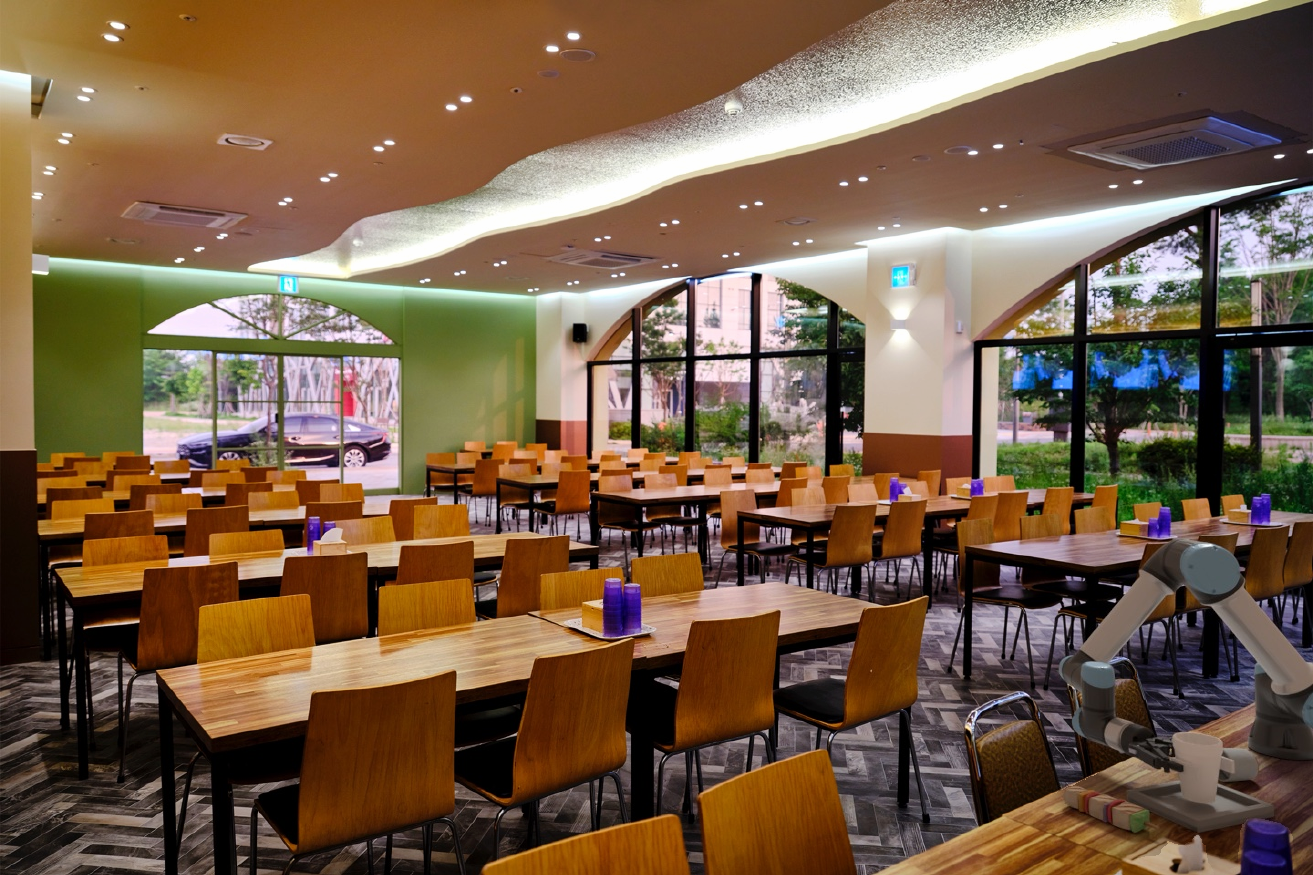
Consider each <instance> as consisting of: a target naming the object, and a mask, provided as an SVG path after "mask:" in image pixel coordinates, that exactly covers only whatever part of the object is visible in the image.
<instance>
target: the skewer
mask: <svg viewBox="0 0 1313 875" xmlns="http://www.w3.org/2000/svg"><path fill="white" fill-rule="evenodd" d="M1063 791H1064V792H1063V796H1064V797H1063V799H1064V804H1065V805H1066V806H1068V807H1071V808H1073V809H1077V810H1078V811H1079V812H1080V813H1081V812H1082V813H1085V814H1087V815H1090V816H1091V817H1094V818H1095V819H1098V820H1099V821H1102V822H1103V823H1109V824H1111V825H1113V826H1115V827H1118V828H1120V829H1122V830H1127V831H1131V832H1132V833H1135V834H1136V833H1138V832H1140V831H1142V830H1143V829H1146V828H1148V827H1149V828H1152V829H1155V830H1158V831H1159V830H1160V828H1161V827H1160V826H1159V825H1157V824H1154V823H1152V822H1151V821H1150V811H1149V810H1146V809H1144V808H1142V807H1140V806H1137V805H1135V804H1133V803H1130V802H1128V801H1127V800H1126V799H1121V798H1120V799H1119V798H1116V797H1112V796H1110V795H1109V794H1106V793H1101V792H1097V791H1095V789H1086V788H1084V787H1081V786H1078V785H1072V786H1069V787H1065V788H1064V790H1063Z"/></svg>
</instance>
